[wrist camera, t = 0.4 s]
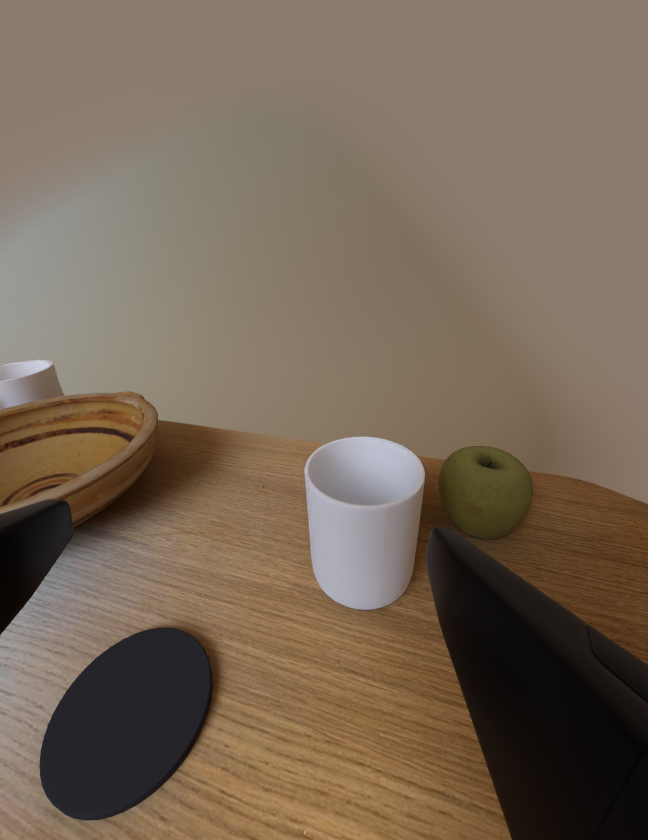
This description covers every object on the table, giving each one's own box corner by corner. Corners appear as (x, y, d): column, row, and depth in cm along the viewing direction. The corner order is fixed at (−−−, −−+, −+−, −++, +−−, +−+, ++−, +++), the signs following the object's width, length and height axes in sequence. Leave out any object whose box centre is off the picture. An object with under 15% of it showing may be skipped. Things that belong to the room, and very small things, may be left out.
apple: (505, 497, 36) (521, 438, 32) (534, 560, 29) (558, 494, 25) (430, 491, 37) (438, 434, 33) (440, 551, 30) (451, 487, 27)
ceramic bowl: (76, 429, 52) (55, 380, 49) (222, 441, 48) (211, 388, 44) (-234, 613, 27) (-329, 541, 23) (8, 682, 22) (-62, 604, 18)
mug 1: (43, 421, 55) (13, 359, 50) (93, 422, 54) (68, 359, 49) (-25, 461, 46) (-70, 389, 41) (35, 463, 45) (-4, 390, 40)
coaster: (192, 807, 17) (189, 803, 17) (1, 833, 16) (-6, 829, 16) (223, 625, 25) (222, 620, 25) (95, 639, 24) (92, 634, 24)
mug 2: (338, 497, 37) (336, 411, 32) (418, 511, 34) (429, 420, 29) (298, 598, 26) (286, 494, 22) (407, 628, 24) (421, 519, 19)
